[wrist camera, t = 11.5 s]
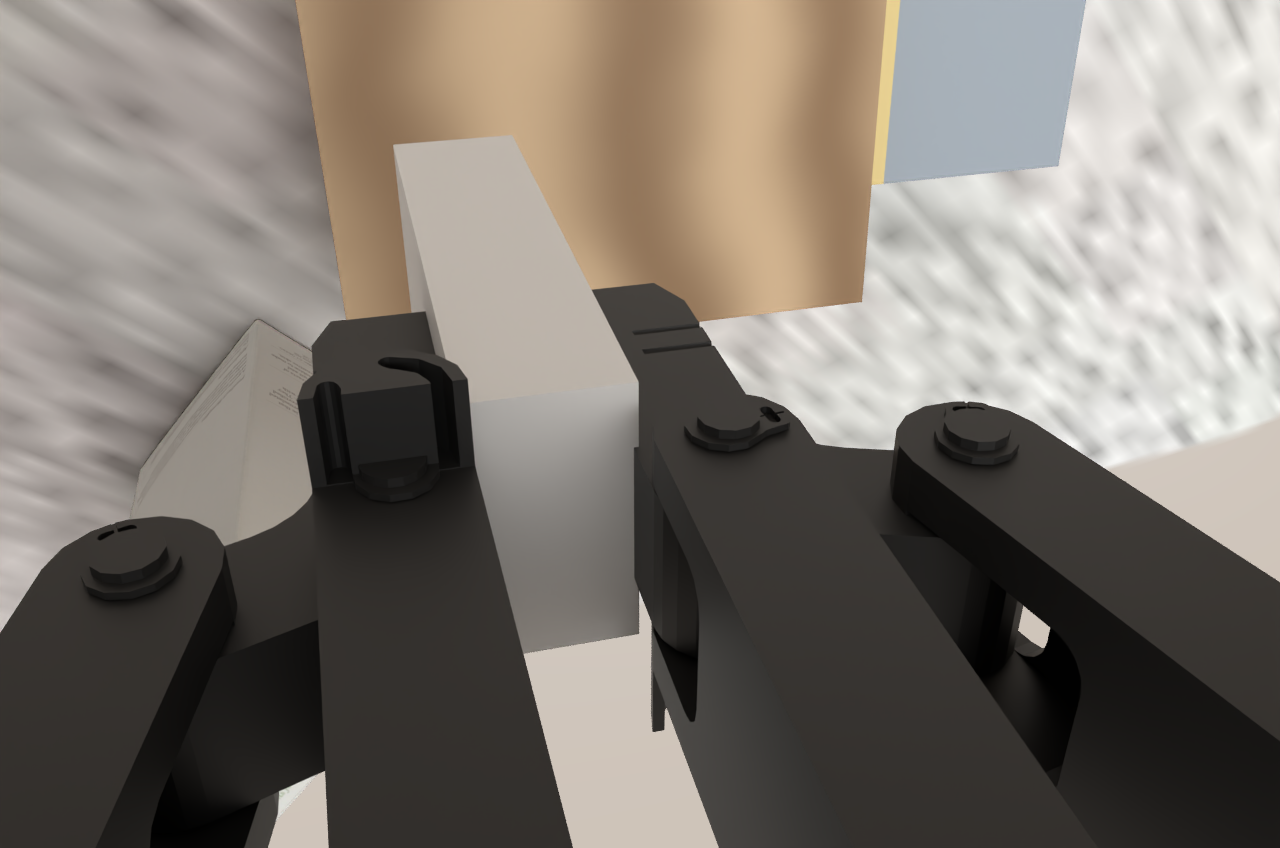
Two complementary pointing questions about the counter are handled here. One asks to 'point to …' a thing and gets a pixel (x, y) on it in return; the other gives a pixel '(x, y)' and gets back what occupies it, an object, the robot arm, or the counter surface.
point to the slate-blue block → (973, 86)
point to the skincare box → (237, 451)
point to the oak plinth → (616, 135)
